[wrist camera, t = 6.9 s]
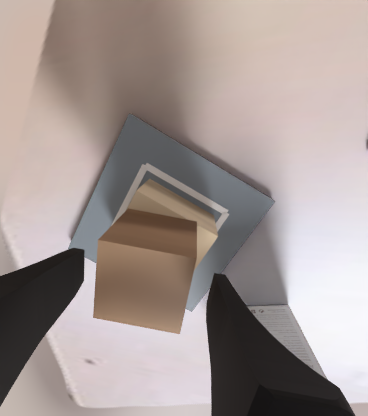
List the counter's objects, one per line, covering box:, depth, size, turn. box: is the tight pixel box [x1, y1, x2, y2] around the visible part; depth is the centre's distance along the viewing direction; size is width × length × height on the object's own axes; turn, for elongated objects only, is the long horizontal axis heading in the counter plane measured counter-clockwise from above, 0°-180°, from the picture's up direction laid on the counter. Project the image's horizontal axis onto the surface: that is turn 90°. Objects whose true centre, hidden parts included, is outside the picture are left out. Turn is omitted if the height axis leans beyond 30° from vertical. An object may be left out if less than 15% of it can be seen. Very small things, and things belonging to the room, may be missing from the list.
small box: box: [247, 305, 328, 380], centre depth 17 cm, size 8×6×13 cm
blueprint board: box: [68, 114, 275, 312], centre depth 19 cm, size 13×13×1 cm
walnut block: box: [93, 208, 197, 334], centre depth 13 cm, size 4×4×4 cm
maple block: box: [127, 179, 218, 270], centre depth 17 cm, size 6×6×4 cm
